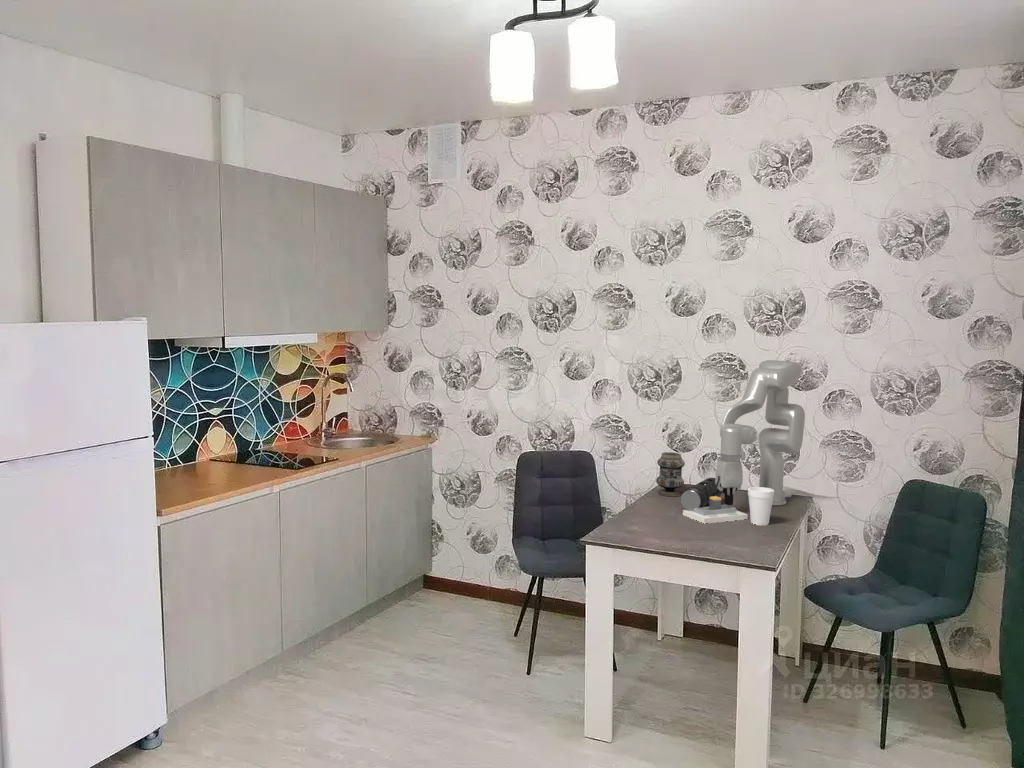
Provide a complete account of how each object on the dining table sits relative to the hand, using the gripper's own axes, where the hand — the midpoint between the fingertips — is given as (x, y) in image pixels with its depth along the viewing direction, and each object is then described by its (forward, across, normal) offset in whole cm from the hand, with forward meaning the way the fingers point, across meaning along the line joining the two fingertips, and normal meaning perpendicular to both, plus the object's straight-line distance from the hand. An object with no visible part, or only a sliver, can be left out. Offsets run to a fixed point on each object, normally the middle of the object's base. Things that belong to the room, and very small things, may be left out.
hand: (728, 504), depth 314 cm
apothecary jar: (+5, 0, -41) cm, 41 cm away
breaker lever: (+2, +6, 0) cm, 7 cm away
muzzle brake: (+4, +3, -13) cm, 14 cm away
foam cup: (+5, -4, +13) cm, 15 cm away
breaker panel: (+5, +6, 0) cm, 8 cm away
